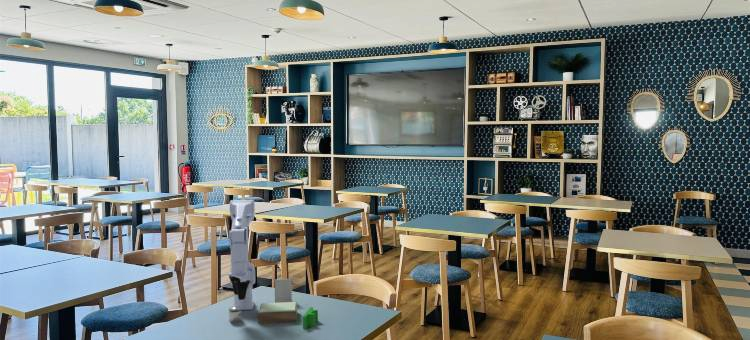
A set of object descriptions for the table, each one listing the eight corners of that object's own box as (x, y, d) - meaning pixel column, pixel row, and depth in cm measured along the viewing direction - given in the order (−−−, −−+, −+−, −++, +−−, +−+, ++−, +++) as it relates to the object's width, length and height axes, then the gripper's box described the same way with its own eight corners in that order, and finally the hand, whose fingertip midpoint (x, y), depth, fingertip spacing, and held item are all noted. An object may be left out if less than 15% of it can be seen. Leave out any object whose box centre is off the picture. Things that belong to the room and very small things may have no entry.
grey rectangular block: (291, 303, 223) (291, 280, 223) (275, 304, 223) (274, 280, 222) (292, 301, 227) (291, 277, 226) (275, 301, 226) (275, 278, 226)
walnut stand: (261, 313, 211) (261, 302, 210) (297, 312, 212) (297, 301, 212) (258, 323, 200) (258, 312, 199) (296, 321, 201) (296, 310, 201)
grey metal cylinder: (230, 319, 205) (230, 306, 205) (242, 318, 206) (242, 305, 205) (228, 323, 201) (228, 310, 200) (240, 322, 201) (240, 309, 201)
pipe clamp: (312, 329, 194) (312, 317, 194) (302, 329, 194) (302, 316, 194) (319, 318, 205) (319, 307, 205) (310, 318, 205) (309, 306, 205)
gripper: (224, 258, 205) (224, 293, 205) (231, 265, 192) (232, 303, 192) (242, 256, 208) (243, 291, 208) (251, 263, 195) (252, 300, 195)
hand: (239, 296), depth 200 cm, fingers open, 7 cm apart
